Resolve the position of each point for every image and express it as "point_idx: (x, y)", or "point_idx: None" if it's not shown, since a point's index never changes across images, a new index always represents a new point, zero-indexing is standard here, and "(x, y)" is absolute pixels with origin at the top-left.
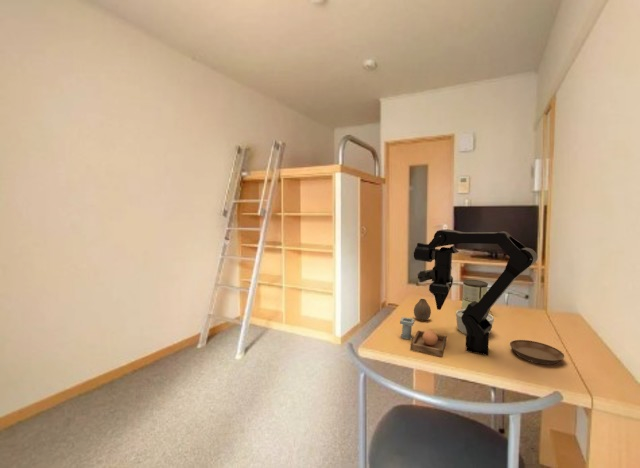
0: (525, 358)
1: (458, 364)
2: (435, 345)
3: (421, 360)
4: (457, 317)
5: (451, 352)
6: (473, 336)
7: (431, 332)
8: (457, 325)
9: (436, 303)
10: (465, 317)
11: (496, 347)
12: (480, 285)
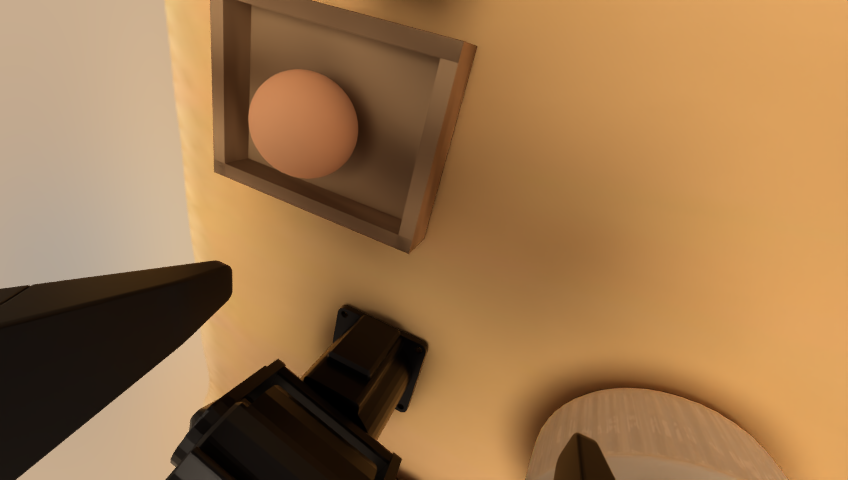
0: None
1: (218, 222)
2: None
3: (174, 54)
4: (652, 458)
5: (309, 227)
6: (302, 377)
7: (256, 136)
8: (670, 406)
9: (103, 281)
10: (192, 429)
11: (430, 444)
12: None
